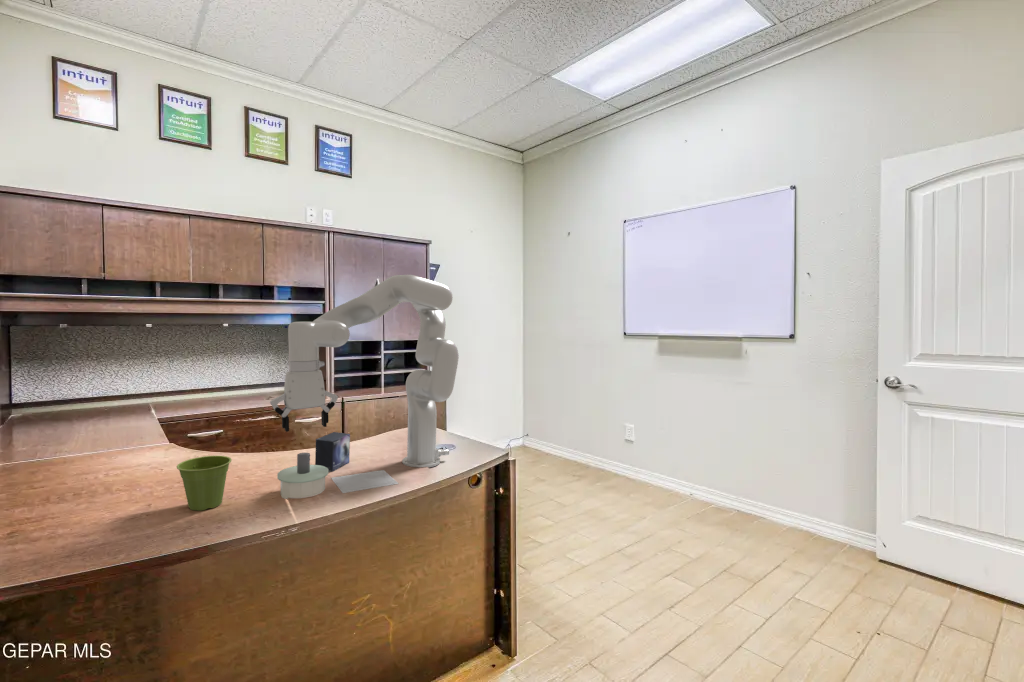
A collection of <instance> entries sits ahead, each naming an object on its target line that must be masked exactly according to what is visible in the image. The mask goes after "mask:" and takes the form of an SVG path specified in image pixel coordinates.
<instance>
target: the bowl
mask: <svg viewBox="0 0 1024 682" xmlns="http://www.w3.org/2000/svg"><path fill="white" fill-rule="evenodd" d="M325 490H326V477H324V478H322V479H319V480H315V481H311V482H304V483H287V482H282V481H280V496H281V499H285V500H289V499H306V498H311V497H315V496H317V495H320V494H322V493H323V492H324V491H325Z"/></svg>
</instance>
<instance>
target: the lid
mask: <svg viewBox="0 0 1024 682" xmlns="http://www.w3.org/2000/svg"><path fill="white" fill-rule="evenodd" d="M296 458H297V459H296V464H297V465H295V466H290V467H287V468H284V469H281V470H280V471H278V472H277V475H276V476H277V480H278V481H280V482H281V481H282V482H287V483H304V482H311V481H315V480H319V479H322V478H324V477H325V478H326V477H327V476H328V475H329V472H328V468H327V467H325V466H321V465H315V464H311V454H310V452H300V453H299V452H298V453H297V455H296Z"/></svg>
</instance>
